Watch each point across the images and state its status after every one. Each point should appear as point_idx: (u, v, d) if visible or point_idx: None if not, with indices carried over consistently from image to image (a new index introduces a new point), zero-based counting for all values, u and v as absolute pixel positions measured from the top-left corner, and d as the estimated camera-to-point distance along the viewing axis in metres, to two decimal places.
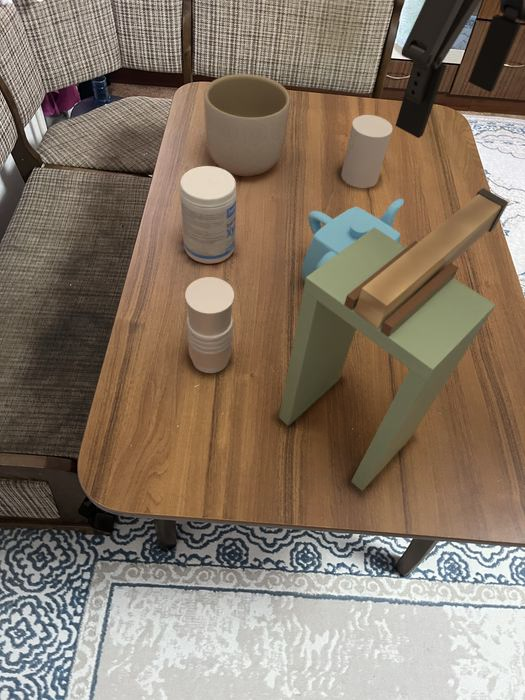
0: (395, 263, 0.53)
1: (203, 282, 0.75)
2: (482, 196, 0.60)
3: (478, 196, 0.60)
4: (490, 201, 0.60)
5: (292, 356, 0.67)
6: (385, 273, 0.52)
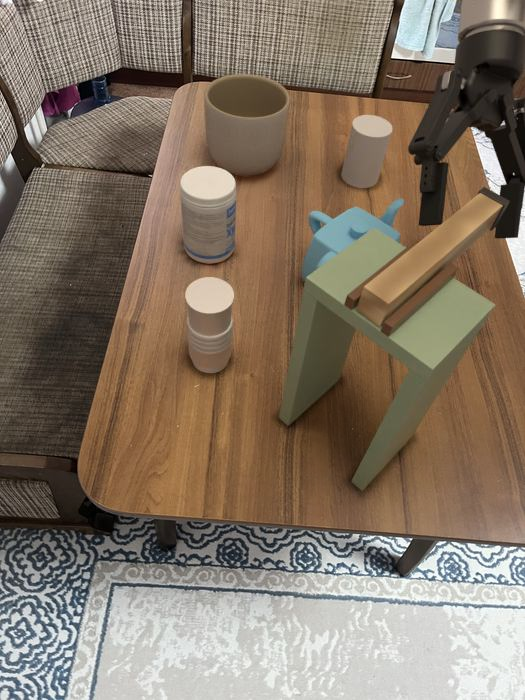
0: (397, 262, 0.53)
1: (203, 282, 0.75)
2: (483, 195, 0.60)
3: (479, 195, 0.60)
4: (492, 200, 0.60)
5: (292, 356, 0.67)
6: (387, 272, 0.52)
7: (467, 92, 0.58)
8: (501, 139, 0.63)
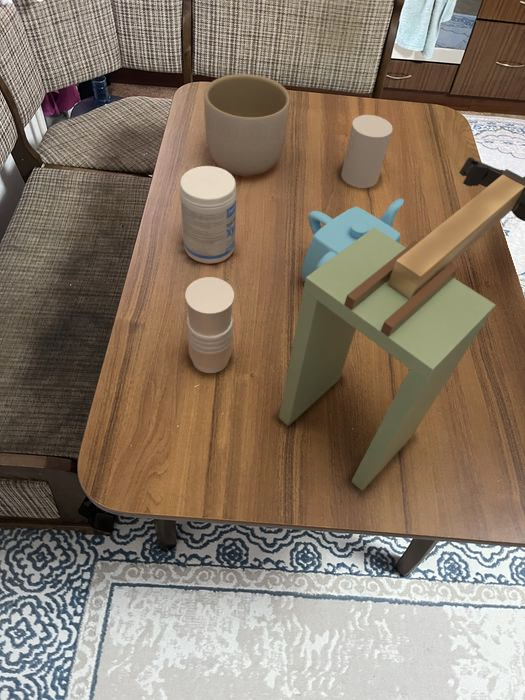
0: (426, 238, 0.55)
1: (203, 282, 0.75)
2: (506, 176, 0.63)
3: (502, 176, 0.63)
4: (514, 181, 0.62)
5: (292, 356, 0.67)
6: (417, 247, 0.54)
7: None
8: None
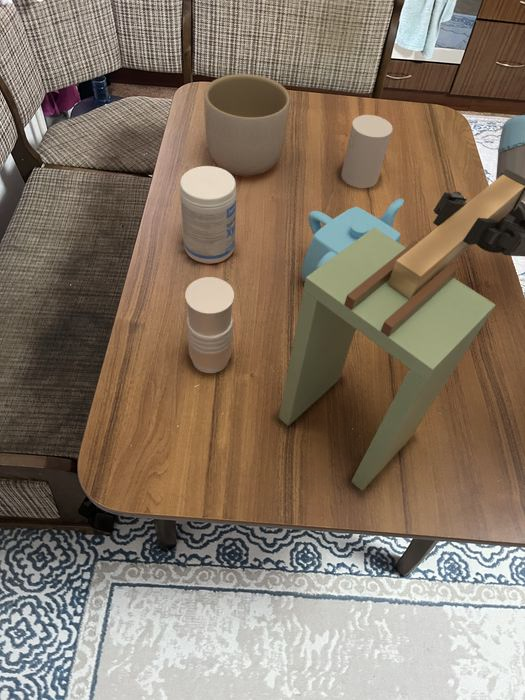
0: (426, 238, 0.55)
1: (203, 282, 0.75)
2: (506, 176, 0.63)
3: (502, 176, 0.63)
4: (514, 181, 0.62)
5: (292, 356, 0.67)
6: (417, 247, 0.54)
7: None
8: None
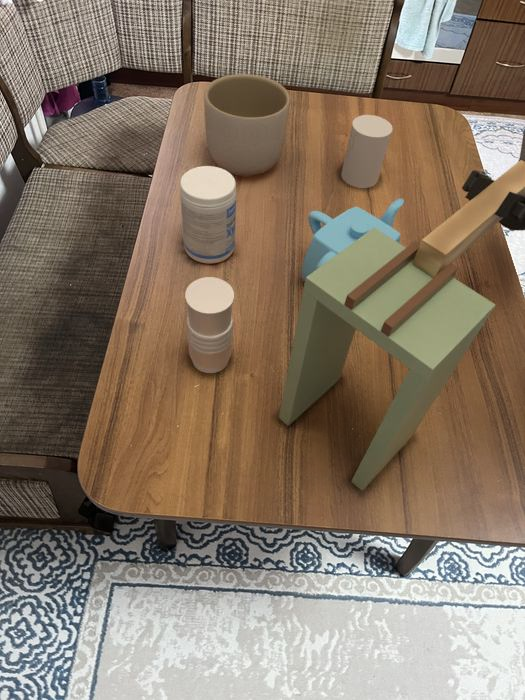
0: (450, 219, 0.57)
1: (203, 282, 0.75)
2: (524, 162, 0.65)
3: (520, 162, 0.65)
4: None
5: (292, 356, 0.67)
6: (442, 227, 0.57)
7: None
8: None
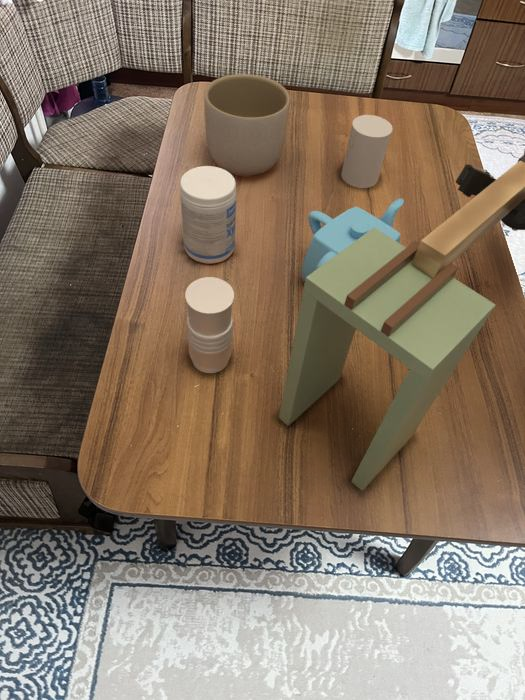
0: (449, 219, 0.57)
1: (203, 282, 0.75)
2: (523, 162, 0.65)
3: (520, 162, 0.65)
4: None
5: (292, 356, 0.67)
6: (441, 228, 0.56)
7: None
8: None
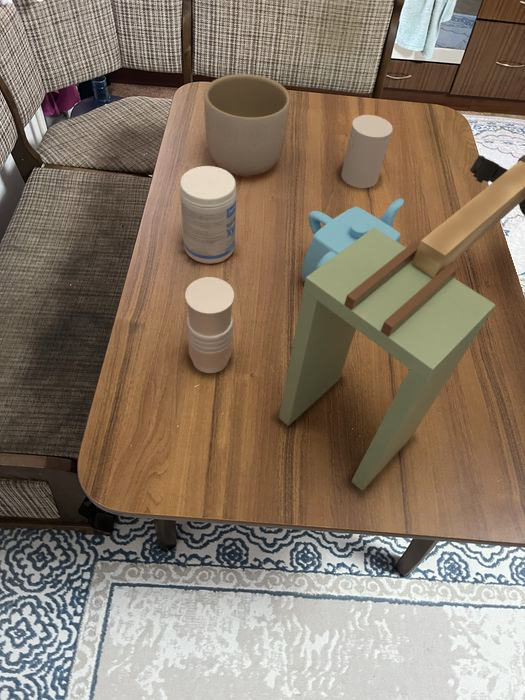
0: (449, 219, 0.57)
1: (203, 282, 0.75)
2: (523, 162, 0.65)
3: (520, 162, 0.65)
4: None
5: (292, 356, 0.67)
6: (441, 228, 0.56)
7: None
8: None
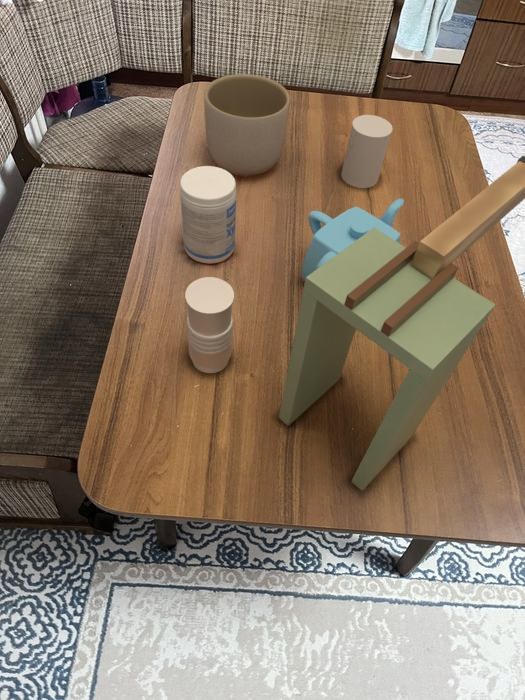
0: (448, 220, 0.57)
1: (203, 282, 0.75)
2: (523, 163, 0.65)
3: (519, 163, 0.65)
4: None
5: (292, 356, 0.67)
6: (440, 228, 0.56)
7: None
8: None
